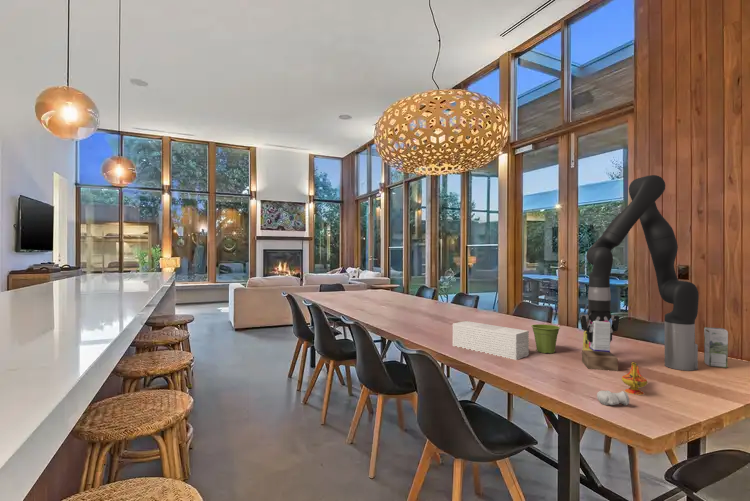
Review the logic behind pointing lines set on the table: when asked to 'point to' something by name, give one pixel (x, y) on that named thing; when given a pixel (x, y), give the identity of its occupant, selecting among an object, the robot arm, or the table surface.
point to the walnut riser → (599, 360)
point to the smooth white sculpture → (612, 398)
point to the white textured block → (491, 339)
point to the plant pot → (545, 337)
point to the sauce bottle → (585, 341)
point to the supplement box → (600, 336)
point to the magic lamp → (634, 380)
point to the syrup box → (716, 347)
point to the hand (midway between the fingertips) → (599, 341)
